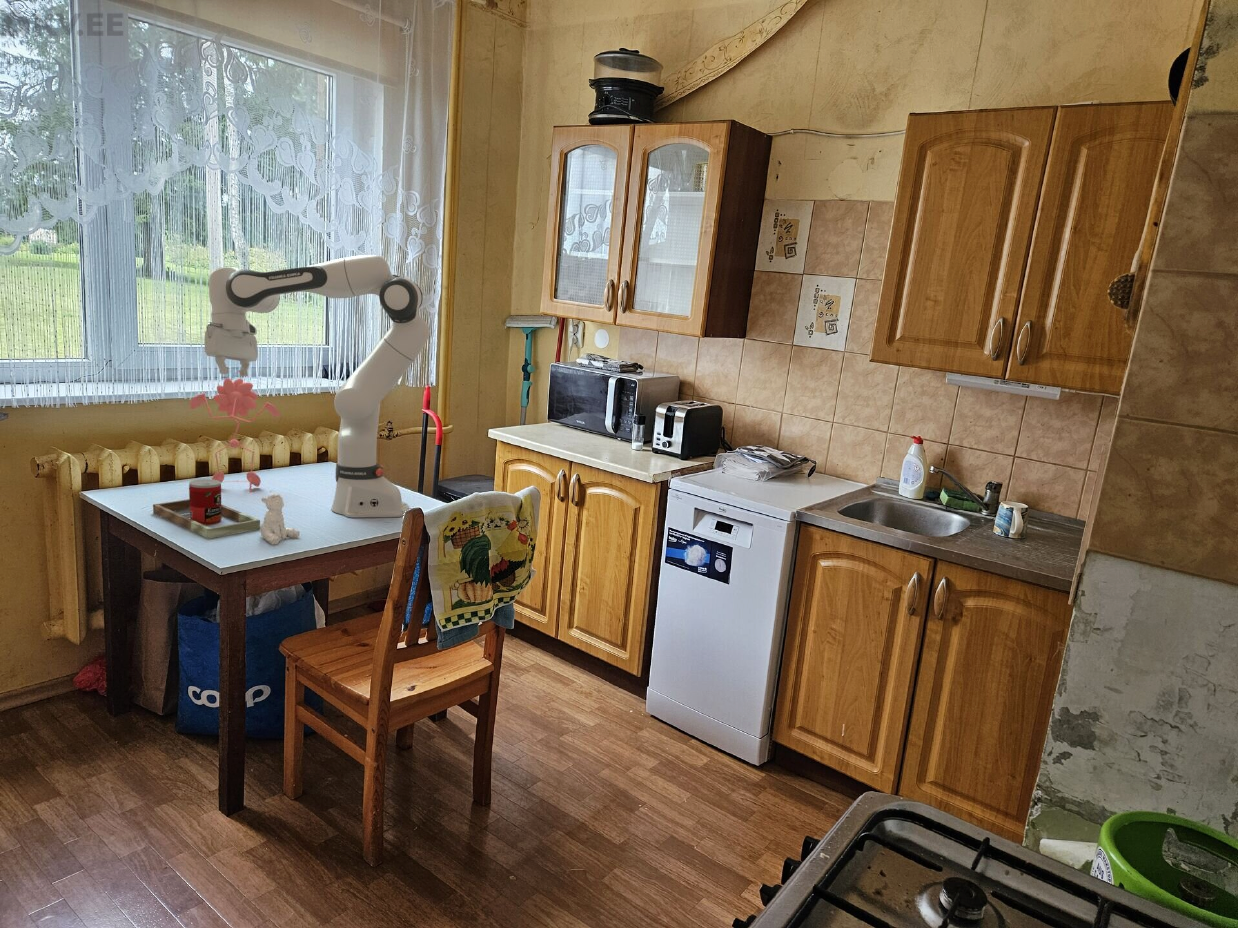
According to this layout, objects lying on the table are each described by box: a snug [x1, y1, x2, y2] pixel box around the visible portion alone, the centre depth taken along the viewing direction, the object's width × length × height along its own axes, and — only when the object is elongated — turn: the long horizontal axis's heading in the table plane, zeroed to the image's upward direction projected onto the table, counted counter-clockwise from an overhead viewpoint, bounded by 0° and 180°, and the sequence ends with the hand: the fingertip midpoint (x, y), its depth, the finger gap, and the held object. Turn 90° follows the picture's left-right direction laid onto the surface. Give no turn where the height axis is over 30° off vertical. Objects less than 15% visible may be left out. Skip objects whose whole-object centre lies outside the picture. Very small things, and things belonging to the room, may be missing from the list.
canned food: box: [188, 478, 223, 526], centre depth 222 cm, size 8×8×11 cm
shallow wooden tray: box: [152, 498, 261, 540], centre depth 223 cm, size 30×14×2 cm, turn 53°
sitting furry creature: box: [259, 493, 300, 546], centre depth 213 cm, size 10×9×12 cm
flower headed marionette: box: [189, 377, 281, 493], centre depth 257 cm, size 15×26×35 cm, turn 108°
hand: (234, 375), depth 230 cm, fingers open, 8 cm apart
